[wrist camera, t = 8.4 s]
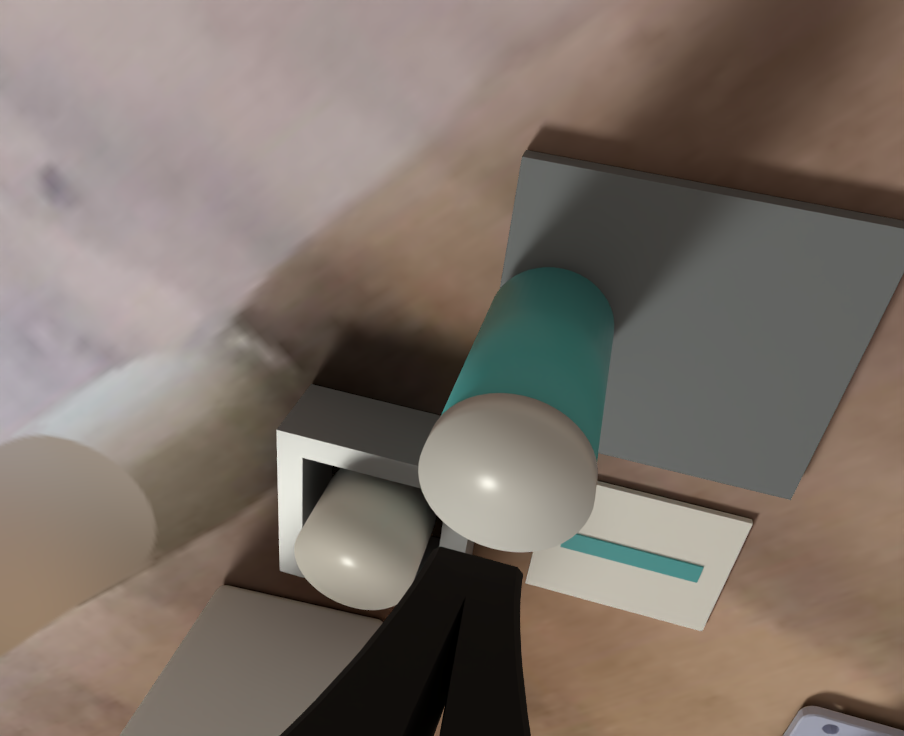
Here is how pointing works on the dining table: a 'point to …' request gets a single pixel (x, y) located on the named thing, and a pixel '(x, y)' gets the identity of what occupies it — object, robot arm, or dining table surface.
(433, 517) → the button
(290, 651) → the medicine bottle
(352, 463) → the button box
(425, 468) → the marker
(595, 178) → the board
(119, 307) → the dining table surface
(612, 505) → the card
